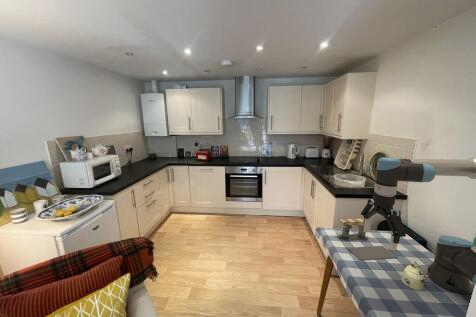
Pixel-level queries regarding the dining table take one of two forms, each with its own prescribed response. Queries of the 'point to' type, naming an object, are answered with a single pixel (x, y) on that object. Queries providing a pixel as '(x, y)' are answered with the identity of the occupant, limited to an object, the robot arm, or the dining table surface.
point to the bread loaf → (351, 222)
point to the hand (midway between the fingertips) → (378, 239)
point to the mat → (372, 253)
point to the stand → (351, 237)
